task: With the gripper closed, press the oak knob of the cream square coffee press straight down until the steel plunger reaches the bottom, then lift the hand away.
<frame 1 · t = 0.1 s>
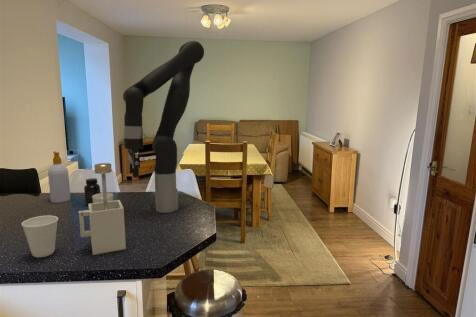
hand: (134, 175, 137), 17 cm above the breakfast bar, tool pointing down, fingers open, 8 cm apart
press jug: (108, 245, 109), on the breakfast bar
cup: (43, 254, 104), on the breakfast bar
white cup: (104, 219, 135), on the breakfast bar
soap bottle: (60, 200, 159), on the breakfast bar
supplement bottle: (93, 204, 154), on the breakfast bar
plunger: (104, 192, 106), point 19 cm above the breakfast bar, slide at 8.0 cm
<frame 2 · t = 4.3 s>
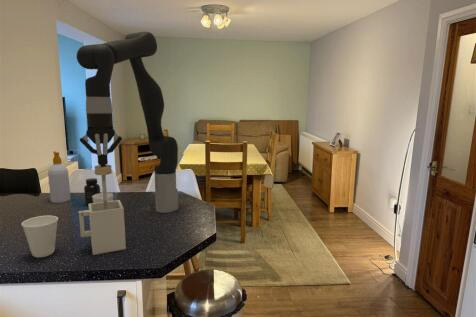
hand: (102, 166, 105), 27 cm above the breakfast bar, tool pointing down, fingers closed
plunger: (104, 194, 106), point 18 cm above the breakfast bar, slide at 7.5 cm, touching gripper
everything else where it was.
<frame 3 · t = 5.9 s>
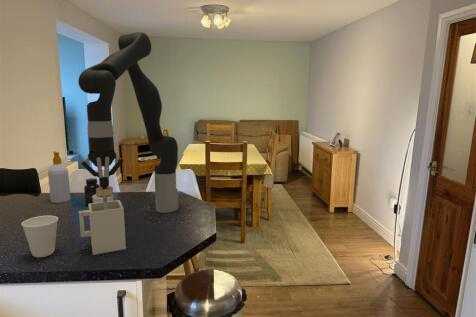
hand: (104, 188, 106), 20 cm above the breakfast bar, tool pointing down, fingers closed
plunger: (106, 215, 108), point 11 cm above the breakfast bar, slide at 0.2 cm, touching gripper
everything else where it was.
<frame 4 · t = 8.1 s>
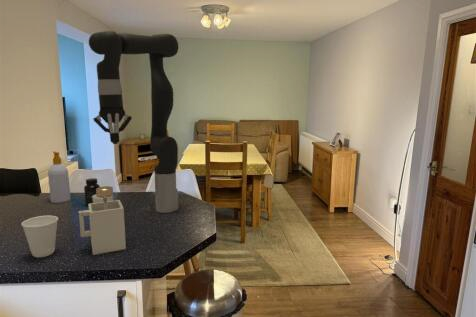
hand: (115, 143, 114), 33 cm above the breakfast bar, tool pointing down, fingers closed
plunger: (106, 215, 108), point 11 cm above the breakfast bar, slide at 0.1 cm
everything else where it was.
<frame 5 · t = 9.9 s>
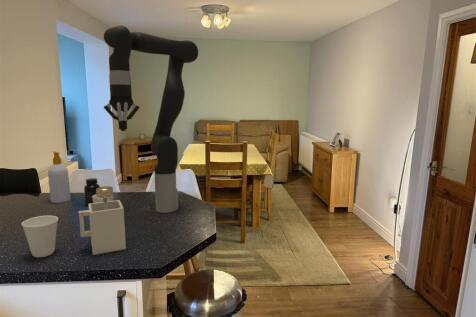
hand: (123, 130, 123), 37 cm above the breakfast bar, tool pointing down, fingers closed
nothing on the breakfast bar moved.
at the end: plunger slide at 0.1 cm; the gripper is holding nothing; cup moved 0.2 cm from its start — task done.
